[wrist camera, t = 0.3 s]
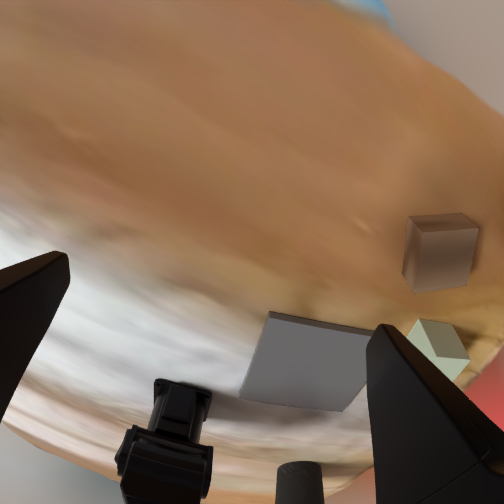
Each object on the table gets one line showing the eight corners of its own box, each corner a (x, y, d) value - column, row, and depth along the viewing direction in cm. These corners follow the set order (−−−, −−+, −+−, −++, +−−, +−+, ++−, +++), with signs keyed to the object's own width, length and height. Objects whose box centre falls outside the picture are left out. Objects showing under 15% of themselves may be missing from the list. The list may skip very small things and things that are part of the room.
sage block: (429, 355, 29) (443, 391, 24) (396, 351, 28) (409, 390, 24) (451, 324, 26) (470, 359, 22) (418, 318, 26) (436, 356, 22)
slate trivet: (341, 406, 33) (342, 411, 32) (239, 392, 32) (238, 398, 31) (392, 334, 27) (395, 340, 26) (269, 311, 26) (268, 317, 26)
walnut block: (451, 266, 24) (466, 285, 21) (401, 272, 24) (413, 293, 21) (460, 212, 21) (479, 228, 19) (406, 215, 22) (422, 232, 19)
